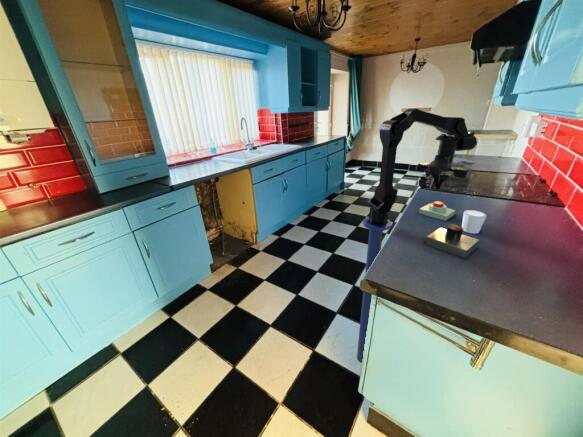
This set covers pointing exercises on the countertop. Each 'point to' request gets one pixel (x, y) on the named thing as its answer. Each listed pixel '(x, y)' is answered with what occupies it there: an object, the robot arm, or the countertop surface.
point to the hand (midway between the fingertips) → (437, 189)
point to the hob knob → (454, 232)
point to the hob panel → (452, 243)
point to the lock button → (438, 204)
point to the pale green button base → (437, 212)
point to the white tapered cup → (473, 221)
